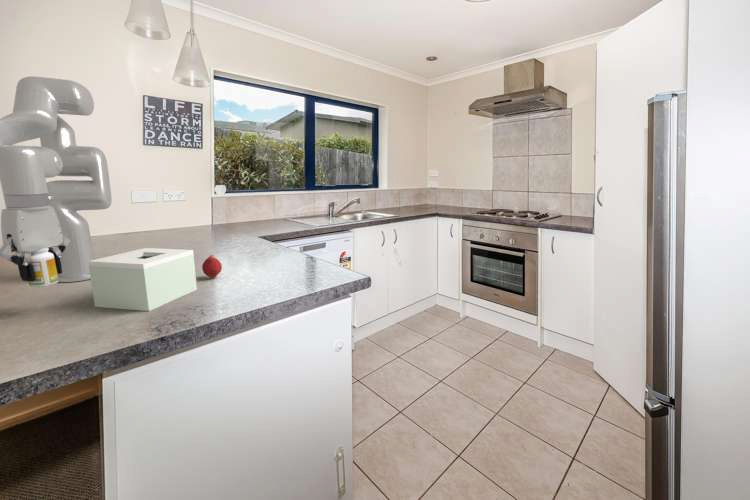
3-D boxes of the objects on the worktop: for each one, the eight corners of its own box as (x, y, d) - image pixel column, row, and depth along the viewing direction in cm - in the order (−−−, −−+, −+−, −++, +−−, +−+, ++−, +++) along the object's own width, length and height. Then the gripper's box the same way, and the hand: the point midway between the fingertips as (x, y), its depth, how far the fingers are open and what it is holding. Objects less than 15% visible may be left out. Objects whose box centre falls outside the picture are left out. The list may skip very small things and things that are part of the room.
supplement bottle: (54, 279, 91) (47, 241, 89) (62, 283, 89) (55, 245, 86) (26, 284, 87) (18, 245, 85) (33, 289, 84) (24, 249, 82)
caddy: (95, 306, 93) (87, 261, 90) (150, 286, 110) (145, 247, 108) (149, 311, 90) (143, 264, 87) (196, 289, 107) (193, 250, 105)
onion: (215, 281, 116) (213, 256, 114) (199, 280, 117) (197, 256, 115) (226, 276, 121) (224, 253, 120) (210, 275, 123) (208, 252, 121)
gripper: (53, 197, 92) (65, 266, 96) (-32, 205, 76) (-13, 287, 80) (77, 199, 91) (89, 268, 95) (-4, 206, 74) (15, 290, 79)
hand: (42, 276), depth 87 cm, fingers closed on supplement bottle, 5 cm apart
